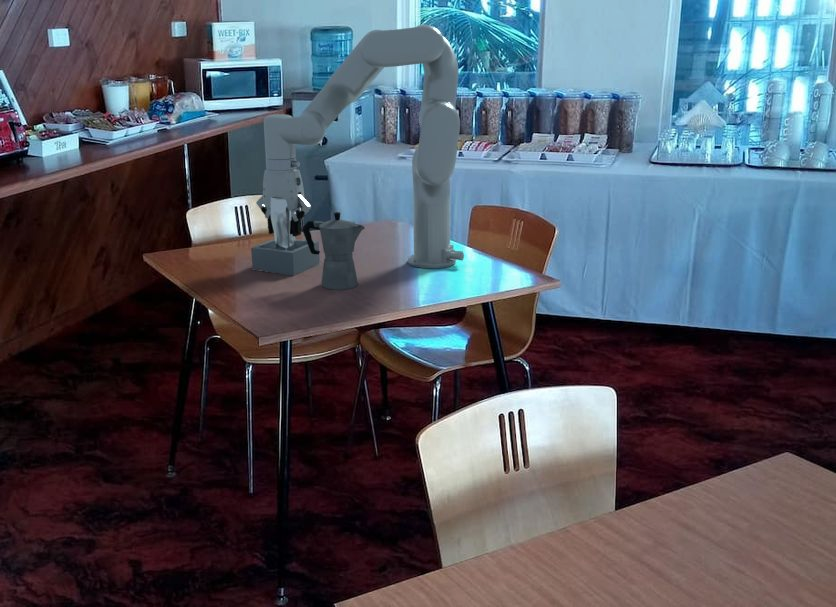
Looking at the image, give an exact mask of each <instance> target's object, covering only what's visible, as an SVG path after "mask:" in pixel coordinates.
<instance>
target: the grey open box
mask: <svg viewBox="0 0 836 607" xmlns="http://www.w3.org/2000/svg"><path fill="white" fill-rule="evenodd" d="M295 240H296V246H297V249H295V250H293V251H286V250H277V249H274V248H275V238H272V239H269V240H267V241H265V242H263V243H260V244H257V245H255V246H251V247H250V250H251V252H250V253H251V265H252V266H251V267H252V270H253V269H254V270H262V271H267V272H266V273H268V272H273V273H272V274H276V273H279V274H278V275H284V274H285V275H284V276H291V275H293V277H294V275H295V276H296V275H299V274H302V273H303V272H305V271H307V270H310V269H312V268H313V267H315V266H318V265H319V264H320V253H319V254H312V253H311V252H310V249H309V246H308V244H307V241H306V239H301V238H300V239H298V238H295ZM313 242H314V248H315V250H317V251H320V243H319V242H320V241H317V240H313Z"/></svg>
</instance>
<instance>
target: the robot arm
mask: <svg viewBox="0 0 836 607" xmlns="http://www.w3.org/2000/svg"><path fill="white" fill-rule="evenodd" d="M356 44H357V45H356V46H355V47H354V48H353V49H352V51H350V53H349V54H348V55H347V56H346V57H345V59H344V60H343V61H342V63H341V64H340V65H339V66H338V67H337V68H336V70H335V71H334V72H333V73H331V74H332V75H331V76H330V77H329V78H328V80H327V81H326V83H325V85H324V86H323V87H322V88H321V89H320V91H319V92H318V93H317V94H316V95H315V97H314V98H313V99H312V100H311V101H310V103H309V104H308V105H307V106H306V107H305V109H303V111H302V112H301V113H300V115H299V116H292V115H290V114H285V113H284V114H282V113H280V114H269V115H267V116H265V117H264V119H263V134H264V148H265V150H264V151H265V168H266V169H265V170H264V173H263V179H262V195H261V196H260V197H259V198H258V199H257V201H256V206H257V207H258V208H259V209H260V210H261V212H262V214H263V215H264V218H265V219H267V229H268V234H269V235H272V234H274V232H273V228H272V223H271V217H270V197H272V198H278V199H284V198H285V199H286V202H287V205H288V209H289V210H290V211H291V212H292V217H293V219H294V221H292V235H293V236H294V237H295V238H296V237H298V236H301V234H302V232H303V226H302V220H303V219H304V218H305V216H306V215H307V214H308V212H309V211H310V210H311V209H312V206H311V204H310V203H309V202H308V201H307V199H305V189H304V183H303V178H302V174H301V172H300V169H297V168H299V167H300V166H301V162H300V161H298V160H297V155H296V154H297V153H296V152H297V151H296V145H299V146H315V145H318V144H320V142H322V141H323V139H324V137H325V134H326V131H327V129H329V127H330V126H331V125H332V123H333V122H335V120H336V119H337V118H338V117H339V116H340V114H341V113H342V112H343V111H344V110H345V109H346V108H347V107H349V106H350V105H351V104H353V103H354V102H356V101H357V100H358V99H359V98H360V97H361V96H362V95H363V93H364V92H365V91H366V90H367V89H368V88H369V86H370V85H371V83H373V81H374V80H375V79H376V78H377V77H378V75H380V73H381V72H382V71H383V70H384V68H391V67H393V68H394V67H402V66H411V65H421V64H422V65H421V66H422V67H423V88H422V93H421V94H422V96H421V104H420V108H419V113H418V123H419V126H420V130H419V141H418V146H417V147H416V149H415V150H414V152H413V155H412V159H411V160H412V161H411V172H412V188H413V189H412V190H413V192H412V194H413V197H412V198H413V199H412V200H413V202H412V203H413V205H412V206H413V208H412V209H413V221H412V222H413V223H412V224H413V254H411V255H409V256H408V258H407V262H408V264H409V265H410V266H413V267H417V268H421V269H441V268H447V267H451V266H453V265H454V264H456V260H457V261H463V260H464V257H465V254H464V252H463V250H462V251H461V250H455V249H454V244H451V240H450V239H451V180H450V179H451V177H453V175H454V171H455V167H456V162H457V161H456V160H457V155H458V154H457V153H458V147H459V146H458V145H459V137H460V130H461V120H460V116H459V112H458V111H457V108H456V104H457V103H456V102H457V97H458V96H457V95H458V94H457V93H458V84H459V83H458V81H459V64H458V60H457V59H458V58H457V57H456V53H455V51H454V48H453V47H452V45H451V44H450V42H449V41H448V39H446V37H445V36H443V34H442V32H441V31H440V30H439V29H438V28H436V27H435V26H431V25H429V24H419V25H417V26H415V27H408V28H398V29H388V30H387V29H384V30H383V29H374V30H371V31H369V32H367V33H366V34H365V35H364V36H363V37H362V38H361V40H359V42H358V43H356ZM296 210H297V214H296Z"/></svg>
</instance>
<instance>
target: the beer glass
mask: <svg viewBox="0 0 836 607" xmlns="http://www.w3.org/2000/svg"><path fill="white" fill-rule="evenodd" d="M296 214H297V210H296ZM270 217H271V223H272V228H273V232H274V233H273V236H274V239H275V248H274V249H277V250H286V251H293V250H295V249H297V246H296V240H295V239H296V237H294V236H293V235H292V221H294V219H293V217H292V212H291V211H290V210H289V209H288V205H287V202H286V199H285V198H284V199H278V198H272V197H270Z"/></svg>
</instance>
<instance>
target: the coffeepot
mask: <svg viewBox="0 0 836 607" xmlns="http://www.w3.org/2000/svg"><path fill="white" fill-rule="evenodd" d="M341 214H342V213H341V212H338V211H336V212H333V216H334V219H331V220H327V221H325V222H324V221H322V220H321V221H319V220H315V221H314V220H308V221H307V222H306V223H305V224H304V225H303V226H302V233H303V235H304V237H305V238H304V239H305V240H306V241H307V244H308V246H309V249H310V252H311V253H312V254H319V255H320V253H321V251H320V250H319V251H317V250H315V248H314V242H313V241H314V240H313V238H312V233H311V231H310V230H311V229H314V230H317V231H319V233H320V238H321V243H322V248H323V253H324V259H323V267H322V276H321V287H322V288H324V289H327V290H332V291H344V290H350V289H354V288H356V287H357V286H358V285H359V284H358V283H359V282H358V278H357V271H356V267H355V262H354V258H353V256H354V255H353V252H354V251H355V245H356V244H355V243H356V240H357V239H358V237H359V236H360V234H361V233H362V231H363V230H365V229H366V228H365V226H364V225H362V224H357V223H356V222H355V221H350V220H344V219H341Z"/></svg>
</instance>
